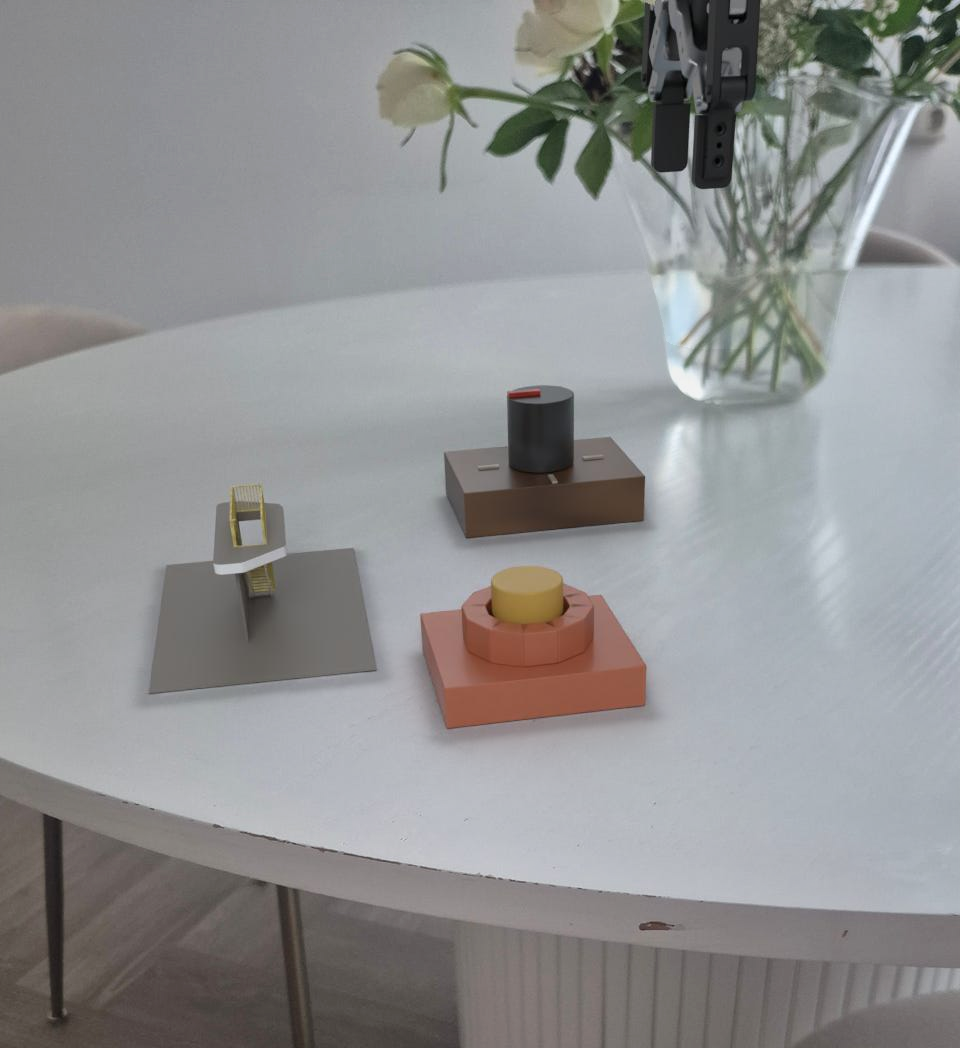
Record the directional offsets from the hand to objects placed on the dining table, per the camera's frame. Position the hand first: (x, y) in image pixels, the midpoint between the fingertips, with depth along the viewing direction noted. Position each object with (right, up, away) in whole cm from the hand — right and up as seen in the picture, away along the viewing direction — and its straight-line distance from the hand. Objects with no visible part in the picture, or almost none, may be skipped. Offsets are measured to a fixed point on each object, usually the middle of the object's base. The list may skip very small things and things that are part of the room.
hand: (688, 179), depth 77 cm
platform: (-25, -27, -3) cm, 37 cm away
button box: (-10, -32, -11) cm, 35 cm away
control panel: (-8, -17, +10) cm, 22 cm away
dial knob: (-9, -15, +8) cm, 19 cm away
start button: (-10, -29, -13) cm, 33 cm away
